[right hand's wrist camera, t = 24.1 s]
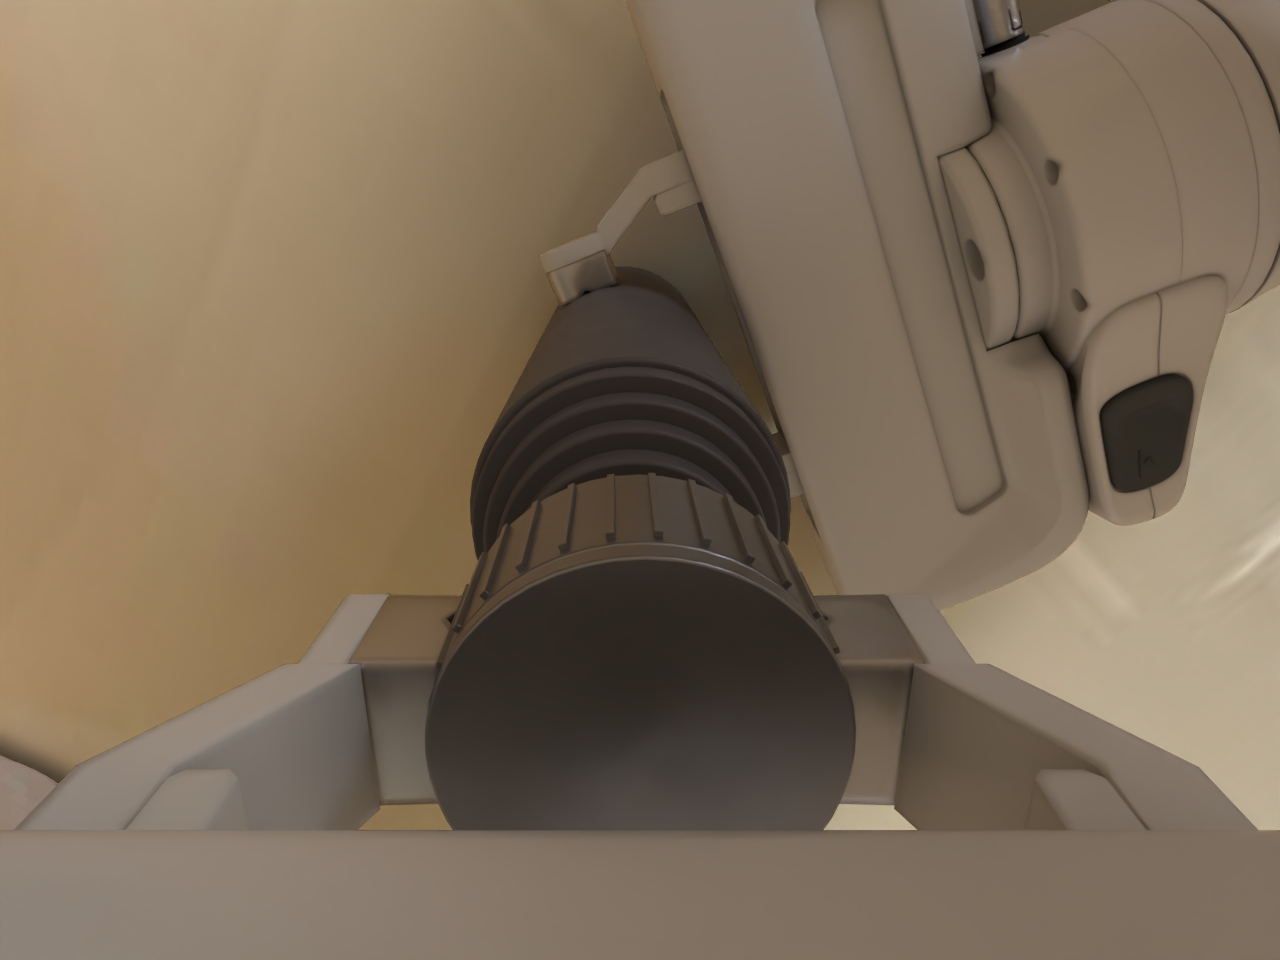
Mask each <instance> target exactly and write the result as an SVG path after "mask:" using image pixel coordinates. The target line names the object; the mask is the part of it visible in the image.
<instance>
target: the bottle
mask: <svg viewBox="0 0 1280 960" xmlns="http://www.w3.org/2000/svg"><path fill="white" fill-rule="evenodd" d="M615 269H616V272H617V274H618V279H617V284H614V285H612V286H609V287H607V288H603V289H599V290H596V291H593V292H591V291H587V290H585V291H584V293H583V295H582V296H581V297H580V298H578V299H576V300H574V301H573V302H570V303H567V304H564V305H558V307H557V309H556V311H555V313H554V314H553V316H552V318H551V320H550V322H549V324H548V326H547V328H546V329H545V331H544V333H543V335H542V337H541V339H540V341H539V343H538V345H537V346H536V348H535V350H534V352H533V354H532V356H531V358H530V360H529V361H528V363H527V365H526V367H525V369H524V371H523V373H522V375H521V377H520V378H519V380H518V382H517V384H516V386H515V388H514V390H513V392H512V393H511V395H510V397H509V399H508V401H507V403H506V405H505V407H504V409H503V410H502V412H501V414H500V416H499V418H498V420H497V422H496V424H495V425H494V427H493V429H492V431H491V433H490V435H489V437H488V439H487V441H486V442H485V445H484V447H483V449H482V452H481V454H480V457H479V459H478V462H477V465H476V469H475V473H474V477H473V481H472V488H471V498H470V514H471V525H472V535H473V541H474V547H475V553H476V556H477V560H479V557H480V555H481V554H482V552H485V553H486V554H487V553H488V552H489V550H490V549H491V547H492V546H493V544H494V543H495V541H496V540H497V539H498V538H499V536H500V533H501V530H502V527H503V526H504V525H505V524H506V523H508V524H509V525H511V524H512V523H513V522H514V521H515V520H516V519H518V518H519V517H520V516H521V515H522V514H524V513H525V512H526V511H527V510H528V509H530V508H531V506H532V503H533V502H535V501H536V500H539V501H540V502H541V501H543V500H544V499H546V498H547V497H549V496H551V495H554V494H556V493H558V492H560V491H562V490H564V489H567V487H568V485H570V484H572V483H575V485H578V484H581V483H584V482H587V481H591V480H595V479H601V478H606V477H607V475H608V474H615V476H622V475H648V473H655V474H656V476H664V477H670V478H675V479H680V480H685V481H688V479H691V480H695V482H696V484H697V485H700V486H704V487H707V488H709V489H711V490H713V491H715V492H717V493H719V494H722V495H725V493H727V494H729V495H731V496H732V499H733V501H734V502H736V503H737V504H739V505H740V506H742V507H743V508H745V509H746V510H748V511H749V512H750V513H751V514H752V515H753V516H756V515H757V514H758V515H760V516H761V517H762V518H763V520H764V522H765V525H766V527H767V529H768V530H769V531H770V532H771V533H772V535H773V536H774V537H775V538H776V539H777V540H778V542H779V543H781V542H782V541H784V542H785V544H786V545H787V546H788V541H789V531H790V511H791V504H790V487H789V481H788V476H787V470H786V467H785V464H784V461H783V458H782V455H781V452H780V450H779V448H778V446H777V444H776V442H775V440H774V438H773V436H772V434H771V432H770V431H769V429H768V427H767V426H766V424H765V423H764V421H763V420H762V418H761V417H760V415H759V414H758V412H757V411H756V409H755V407H754V406H753V404H752V403H751V401H750V400H749V398H748V397H747V395H746V394H745V392H744V391H743V389H742V388H741V386H740V384H739V383H738V381H737V380H736V378H735V377H734V375H733V374H732V372H731V371H730V369H729V368H728V366H727V364H726V363H725V361H724V360H723V358H722V357H721V355H720V354H719V352H718V351H717V349H716V348H715V346H714V345H713V343H712V341H711V340H710V338H709V337H708V335H707V334H706V332H705V331H704V329H703V328H702V326H701V325H700V323H699V321H698V320H697V318H696V317H695V315H694V314H693V312H692V311H691V309H690V308H689V306H688V305H687V303H686V302H685V300H684V299H683V297H682V296H681V294H680V293H679V292H678V291H677V290H676V289H675V288H674V287H673V286H672V285H671V284H670V283H668V282H667V281H666V280H664V279H663V278H661V277H659V276H658V275H655V274H653V273H651V272H649V271H646V270H642V269H638V268H632V267H615Z"/></svg>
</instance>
